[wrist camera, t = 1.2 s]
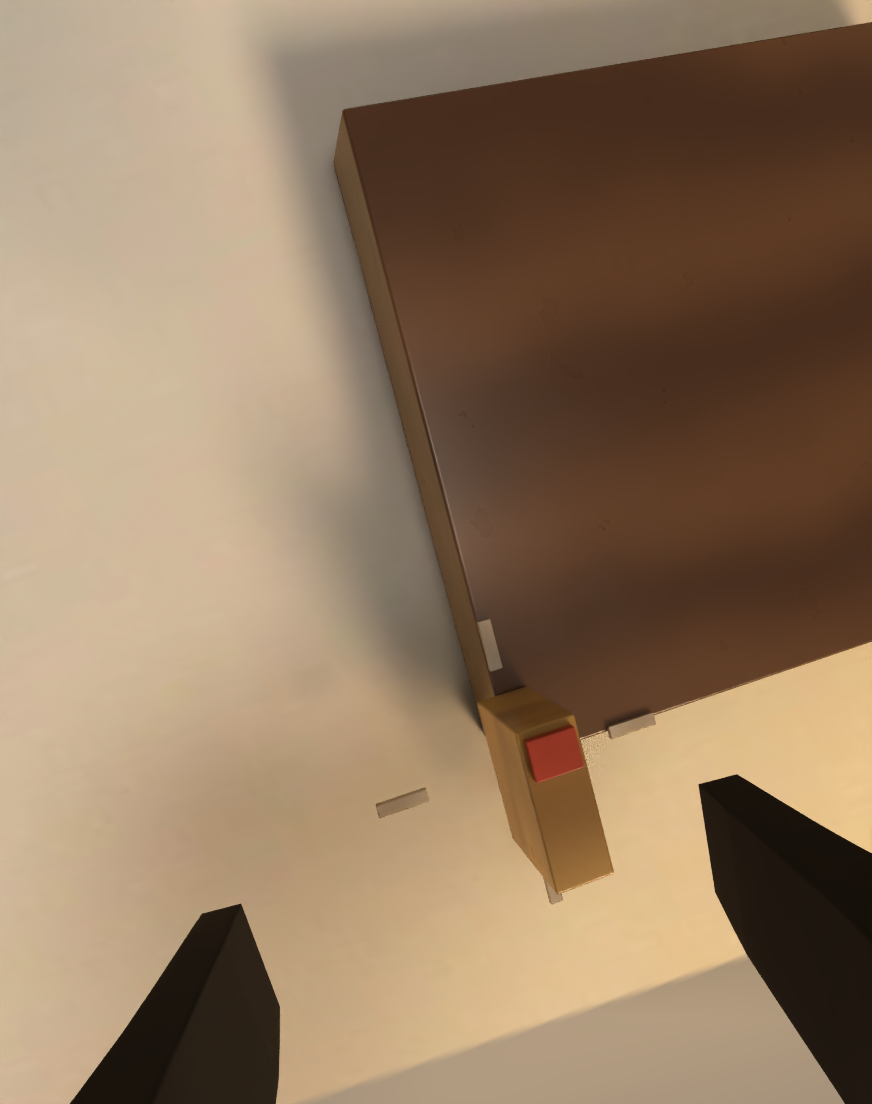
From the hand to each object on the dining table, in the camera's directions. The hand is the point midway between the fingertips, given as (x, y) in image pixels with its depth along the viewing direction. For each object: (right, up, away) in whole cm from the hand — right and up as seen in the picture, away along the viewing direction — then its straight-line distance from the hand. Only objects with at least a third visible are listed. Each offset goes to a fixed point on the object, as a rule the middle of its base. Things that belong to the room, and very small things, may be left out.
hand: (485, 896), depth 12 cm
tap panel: (+6, +8, +14) cm, 17 cm away
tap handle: (+2, -1, +10) cm, 10 cm away
